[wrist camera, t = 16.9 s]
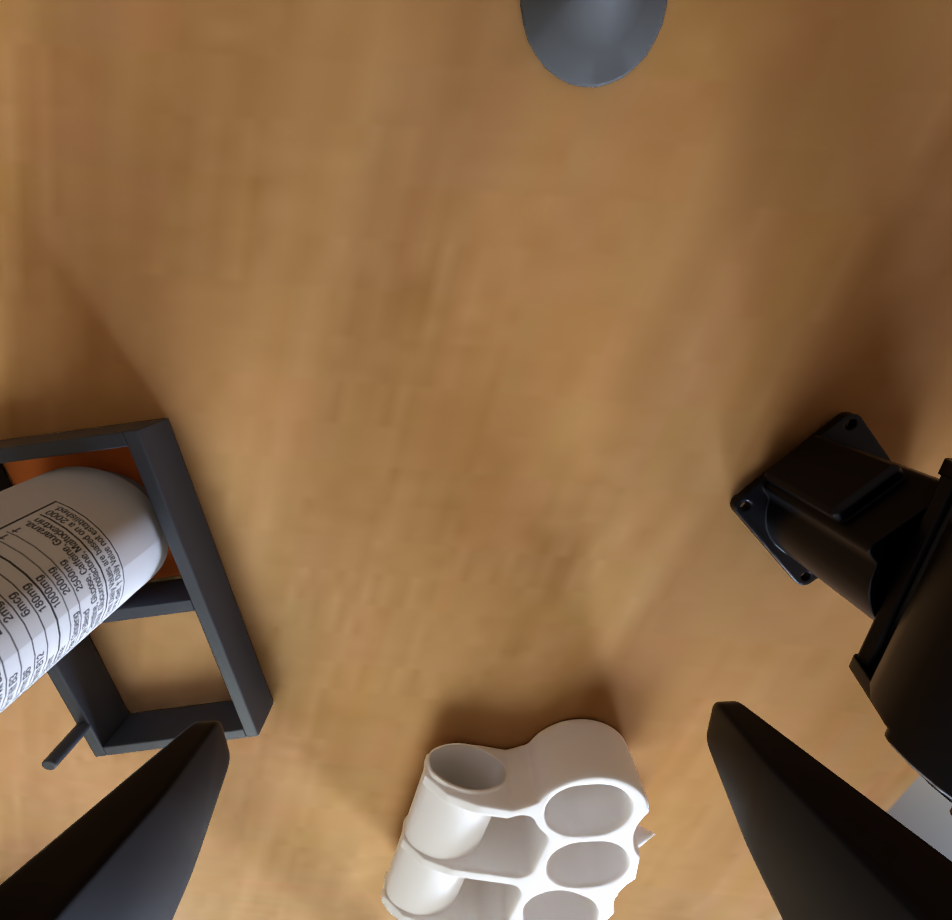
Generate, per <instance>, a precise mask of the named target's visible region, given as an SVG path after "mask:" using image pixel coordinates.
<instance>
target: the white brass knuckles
mask: <svg viewBox="0 0 952 920" xmlns="http://www.w3.org/2000/svg"><path fill="white" fill-rule="evenodd" d="M648 812H649V803H648V799H647V796H646V793H645V790H644V788H643V785H642V782H641V780H640V777H639V775H638V772H637V769H636V767H635V764H634V761H633V759H632V756H631V754H630V751H629V748H628V746H627V744H626V742H625V740H624V739H623V737H622V736H621V735H620V734H619V733H618V732H617V731H616V730H615V729H613V728H612V727H610V726H608V725H607V724H604V723H602V722H598V721H594V720H588V719H573V720H567V721H562V722H559V723H556V724H553V725H551V726H549V727H547V728H545V729H544V730H542V731H541V732H539V733H538V734H537V735H536V736H535V737H534V738H533V739H532V740H531V741H530V742H529V743H528V744H525V745H522V746H519V747H515V748H512V749H508V750H503V749H497V748H491V747H486V746H480V745H470V744H464V743H451V744H445V745H441V746H438V747H436V748H434V749H432V750H431V751H430V753H428V754H427V755H426V757H425V760H424V770H423V772H422V775H421V778H420V781H419V784H418V787H417V790H416V793H415V796H414V799H413V801H412V804H411V807H410V810H409V813H408V816H406V817H405V819H404V822H403V829H402V833H401V836H400V839H399V842H398V845H397V848H396V851H395V854H394V857H393V860H392V863H391V865H390V868H389V871H387V872H386V874H385V878H384V885H383V889H382V901H381V902H382V903H383V904H384V906H385V908H386V909H387V910H388V911H389V912H390V913H391V914H392V915H393V916H394V917H396V918H397V919H399V920H607V919H608V918H609V917H610V916H611V915H612V914H613V913H614V907H613V902H614V899H615V897H616V896H618V895H617V894H618V892H619V891H620V890H621V889H622V888H623V887H624V886H625V885H627V884H628V883H629V882H631V881H632V880H634V879H635V877H636V872H637V867H638V863H639V858H640V851H639V847H640V846H641V845H642V844H644V843H645V842H646V841H647V840H649V839H650V838H651V837H652V836H654V835H655V834H654V833H652V832H651V831H649V830H647V829H646V828H644V827H642V826H640V825H639V824H638V823H639V822H640V820H641V819H642V818H643V817H644V816H645V815H646V814H647V813H648Z"/></svg>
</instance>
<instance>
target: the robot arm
mask: <svg viewBox="0 0 952 920" xmlns="http://www.w3.org/2000/svg"><path fill="white" fill-rule="evenodd" d="M847 421H849V424H848V425H847V426H846V427H845V424H846V423H847ZM938 474H940V475H941V477H940V479H938V478H936V477H933V476H930V475H927V474H925V473H922V472H919V471H916V470H914V469H911V468H908V467H905V466H903V465H900V464H897V463H894V462H892V461H891V460H890V459H889V457H888V456H887V455H886V453H885V452H884V450H883V449H882V447H881V446H880V444H879V443H878V441H877V440H876V439H875V437H874V436H873V434H872V433H871V431H870V430H869V428H868V427H867V425H866V424H865V423H864V421H863V420H862V418H861V417H860V416H859V415H857V414H853V413H850V412H843V413H841V414H839V415H837V416H836V417H835V418H833V419H832V420H831V421H830V422H828V423H827V424H826V425H824V426H823V427H822V428H821V429H819V430H818V431H817V432H816V433H814V434H813V435H812V436H810V437H809V438H808V439H807V440H805V441H804V442H803V443H801V444H800V445H799V446H798V447H796V448H795V449H794V450H792V451H791V452H790V453H789V454H787V455H786V456H785V457H784V458H782V459H781V460H780V461H778V462H777V463H776V464H775V465H773V466H772V467H771V468H769V469H768V470H767V471H766V472H764V473H763V474H762V475H761V476H759V477H758V478H757V479H755V480H754V481H753V482H752V483H750V484H749V485H748V486H746V487H745V488H744V489H743V490H741V491H740V492H739V493H737V494H736V495H735V496H734V497H733V498H732V500H731V502H730V506H731V508H732V510H733V511H734V512H735V513H736V514H737V516H738V517H739V518H740V519H741V520H742V521H743V523H744V524H745V525H746V526H747V527H748V528H749V529H750V531H751V532H752V533H753V534H754V535H755V536H756V538H757V539H758V540H759V541H760V542H761V543H762V545H763V546H764V547H765V548H766V549H767V550H768V551H769V553H770V554H771V555H772V556H773V557H774V558H775V560H776V561H777V562H778V563H779V564H780V565H781V567H782V568H783V569H784V570H785V571H786V572H787V573H788V575H789V576H790V577H791V578H792V579H793V580H794V581H796V582H797V583H798V584H800V585H807V584H809V583H811V582H812V581H814V580H815V579H817V578H819V579H820V580H822V581H823V582H824V583H826V584H827V585H828V586H830V587H831V588H832V589H833V590H835V591H836V592H837V593H839V594H840V595H841V596H843V597H844V598H845V599H847V600H848V601H849V602H850V603H852V604H853V605H854V606H856V607H857V608H858V609H860V610H861V611H862V612H864V613H865V614H866V615H867V616H869V617H870V618H871V619H873V620H874V621H873V623H872V625H871V628H870V630H869V632H868V634H867V636H866V638H865V640H864V643H863V645H862V647H861V649H860V651H859V653H858V654H855V655H854V656H853V658H852V661H851V663H850V665H849V667H850V669H851V671H852V672H853V674H854V676H855V677H856V679H857V680H858V682H859V683H860V685H861V687H862V688H863V690H864V691H865V693H866V695H867V696H868V698H869V699H870V701H871V702H872V704H873V706H874V707H875V709H876V710H877V712H878V714H879V715H880V717H881V719H882V720H883V722H884V724H885V725H886V726H887V730H886V732H885V737H886V739H887V740H888V742H889V743H890V744H891V746H892V747H893V748H894V749H895V750H896V751H897V752H898V753H899V754H900V755H901V756H902V757H903V758H904V760H905V761H906V762H907V763H908V764H909V765H910V766H911V767H912V768H913V769H914V770H916V771H917V772H918V773H919V774H920V775H921V776H922V777H923V778H924V779H925V780H926V781H927V782H928V783H929V784H930V785H931V786H932V787H934V788H935V789H936V790H937V791H938V792H939V793H941V794H942V795H943V796H944V797H945V798H947V799H948V800H949V801H950V802H952V458H945V459H944V461H943V464H942V466H941V468H940V470H939V472H938ZM744 501H746V504H745V505H744V506H742V507H740V506H741V504H742V503H743V502H744ZM803 573H804V574H803ZM802 574H803V575H802ZM801 575H802V576H801ZM707 742H708V746H709V749H710V752H711V755H712V757H713V760H714V762H715V765H716V768H717V770H718V773H719V775H720V778H721V780H722V783H723V786H724V788H725V791H726V793H727V796H728V798H729V801H730V804H731V806H732V809H733V811H734V814H735V816H736V819H737V822H738V824H739V827H740V829H741V832H742V834H743V837H744V839H745V841H746V844H747V846H748V848H749V850H750V853H751V855H752V857H753V859H754V861H755V863H756V865H757V867H758V869H759V871H760V874H761V876H762V878H763V880H764V882H765V884H766V886H767V888H768V890H769V892H770V894H771V896H772V898H773V900H774V902H775V904H776V906H777V908H778V910H779V912H780V914H781V917H782V919H783V920H952V862H951V861H950V860H949V859H947V858H946V857H945V856H944V855H942V854H941V853H940V852H938V851H937V850H936V849H934V848H933V847H932V846H930V845H929V844H928V843H926V842H925V841H923V840H922V839H921V838H920V837H918V836H917V835H916V834H914V833H913V832H912V831H910V830H909V829H908V828H906V827H905V826H903V825H902V824H901V823H900V822H898V821H897V820H896V819H894V818H893V817H892V816H890V815H889V814H887V813H886V812H885V811H884V810H882V809H881V808H880V807H878V806H877V805H876V804H874V803H873V802H872V801H870V800H869V799H868V798H866V797H865V796H864V795H862V794H861V793H860V792H858V791H857V790H856V789H854V788H853V787H852V786H850V785H849V784H848V783H846V782H845V781H844V780H842V779H841V778H840V777H838V776H837V775H836V774H834V773H833V772H832V771H830V770H829V769H828V768H826V767H825V766H824V765H822V764H821V763H820V762H818V761H817V760H816V759H814V758H813V757H812V756H810V755H809V754H808V753H806V752H805V751H804V750H802V749H801V748H800V747H798V746H797V745H796V744H794V743H793V742H792V741H790V740H789V739H788V738H787V737H785V736H784V735H783V734H781V733H780V732H779V731H777V730H776V729H775V728H773V727H772V726H771V725H769V724H768V723H767V722H765V721H764V720H763V719H761V718H760V717H759V716H757V715H756V714H755V713H753V712H752V711H751V710H749V709H748V708H747V707H745V706H744V705H742V704H741V703H739V702H736V701H726V702H716V703H715V704H714V705H713V708H712V713H711V717H710V722H709V726H708V731H707ZM229 758H230V754H229V749H228V745H227V741H226V737H225V734H224V730H223V726H222V724H221V723H220V722H219V721H198V722H195V723H193V724H192V725H190V726H189V727H188V728H187V729H185V730H184V731H183V732H182V733H181V734H179V735H178V736H177V737H176V738H175V739H174V740H172V741H171V742H170V743H169V744H168V745H166V746H165V747H164V748H163V749H162V750H160V751H159V752H158V753H157V754H156V755H154V756H153V757H152V758H151V759H150V760H149V761H147V762H146V763H145V764H144V765H143V766H141V767H140V768H139V769H138V770H137V771H135V772H134V773H133V774H132V775H131V776H130V777H128V778H127V779H126V780H125V781H124V782H122V783H121V784H120V785H119V786H118V787H116V788H115V789H114V790H113V791H112V792H110V793H109V794H108V795H107V796H106V797H105V798H103V799H102V800H101V801H100V802H99V803H97V804H96V805H95V806H94V807H93V808H91V809H90V810H89V811H88V812H87V813H85V814H84V815H83V816H82V817H81V818H80V819H78V820H77V821H76V822H75V823H74V824H72V825H71V826H70V827H69V828H68V829H66V830H65V831H64V832H63V833H62V834H60V835H59V836H58V837H57V838H56V839H55V840H53V841H52V842H51V843H50V844H49V845H47V846H46V847H45V848H44V849H43V850H41V851H40V852H39V853H38V854H37V855H35V856H34V857H33V858H32V859H31V860H30V861H28V862H27V863H26V864H25V865H24V866H22V867H21V868H20V869H19V870H18V871H16V872H15V873H14V874H13V875H12V876H11V877H9V878H8V879H7V880H6V881H5V882H3V883H2V884H1V885H0V920H172V919H173V917H174V914H175V912H176V910H177V907H178V905H179V903H180V900H181V898H182V896H183V894H184V891H185V889H186V886H187V884H188V881H189V879H190V877H191V874H192V872H193V869H194V866H195V863H196V861H197V858H198V855H199V852H200V849H201V846H202V843H203V840H204V837H205V834H206V831H207V828H208V825H209V822H210V820H211V817H212V814H213V811H214V808H215V805H216V802H217V799H218V796H219V793H220V790H221V787H222V784H223V781H224V778H225V775H226V772H227V769H228V765H229ZM950 814H951V815H952V808H951V809H950Z"/></svg>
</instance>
